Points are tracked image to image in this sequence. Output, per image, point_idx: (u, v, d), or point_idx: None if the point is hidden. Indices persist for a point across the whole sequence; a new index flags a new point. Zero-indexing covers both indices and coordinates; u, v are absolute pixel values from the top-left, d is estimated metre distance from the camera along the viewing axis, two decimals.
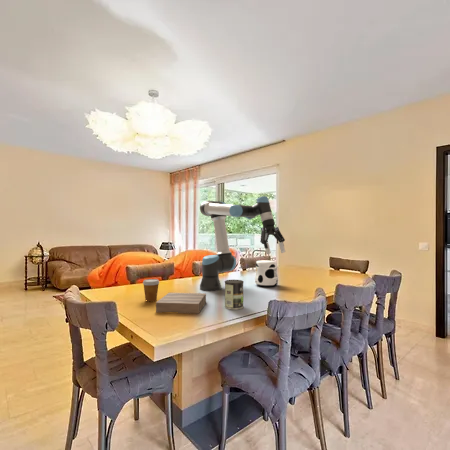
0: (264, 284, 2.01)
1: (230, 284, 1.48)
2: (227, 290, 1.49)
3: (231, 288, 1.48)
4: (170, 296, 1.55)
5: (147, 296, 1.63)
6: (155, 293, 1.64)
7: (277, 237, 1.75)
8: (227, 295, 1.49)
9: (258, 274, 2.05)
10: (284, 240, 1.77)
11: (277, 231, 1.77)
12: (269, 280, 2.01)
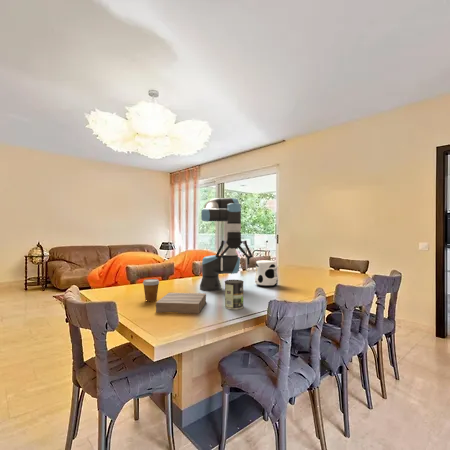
0: (264, 284, 2.01)
1: (230, 284, 1.48)
2: (227, 290, 1.49)
3: (231, 288, 1.48)
4: (170, 296, 1.55)
5: (147, 296, 1.63)
6: (155, 293, 1.64)
7: (242, 252, 1.52)
8: (227, 295, 1.49)
9: (258, 274, 2.05)
10: (251, 257, 1.50)
11: (245, 245, 1.52)
12: (269, 280, 2.01)
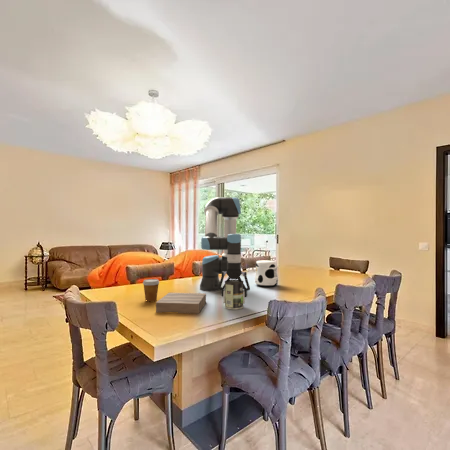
0: (264, 284, 2.01)
1: (230, 284, 1.48)
2: (227, 290, 1.49)
3: (231, 288, 1.48)
4: (170, 296, 1.55)
5: (147, 296, 1.63)
6: (155, 293, 1.64)
7: None
8: (227, 295, 1.49)
9: (258, 274, 2.05)
10: None
11: (244, 277, 1.52)
12: (269, 280, 2.01)
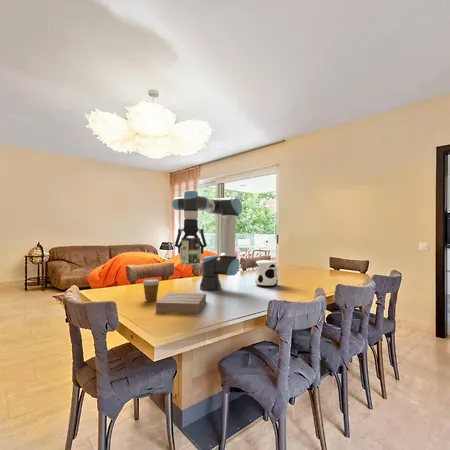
0: (264, 284, 2.01)
1: (186, 240, 1.48)
2: (183, 246, 1.49)
3: (186, 244, 1.48)
4: (170, 296, 1.55)
5: (147, 296, 1.63)
6: (155, 293, 1.64)
7: None
8: (183, 251, 1.49)
9: (258, 274, 2.05)
10: (204, 246, 1.51)
11: None
12: (269, 280, 2.01)
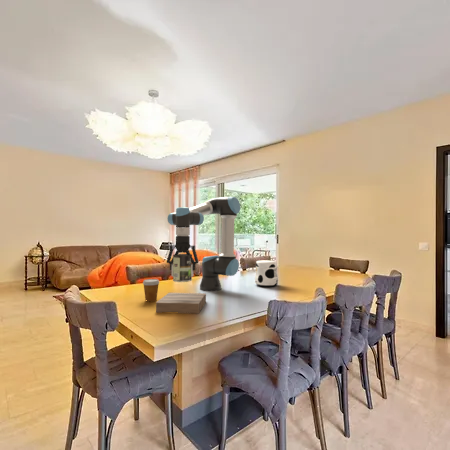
0: (264, 284, 2.01)
1: (177, 257, 1.48)
2: (174, 263, 1.49)
3: (178, 261, 1.48)
4: (170, 296, 1.55)
5: (147, 296, 1.63)
6: (155, 293, 1.64)
7: None
8: (174, 268, 1.49)
9: (258, 274, 2.05)
10: (196, 263, 1.51)
11: None
12: (269, 280, 2.01)
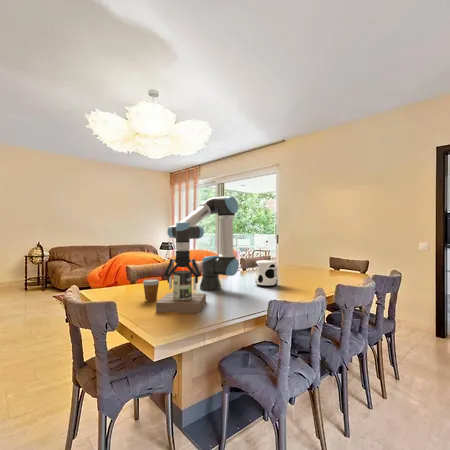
0: (264, 284, 2.01)
1: (177, 274, 1.48)
2: (174, 280, 1.49)
3: (178, 278, 1.48)
4: (170, 296, 1.55)
5: (147, 296, 1.63)
6: (155, 293, 1.64)
7: None
8: (174, 285, 1.49)
9: (258, 274, 2.05)
10: None
11: (193, 264, 1.52)
12: (269, 280, 2.01)
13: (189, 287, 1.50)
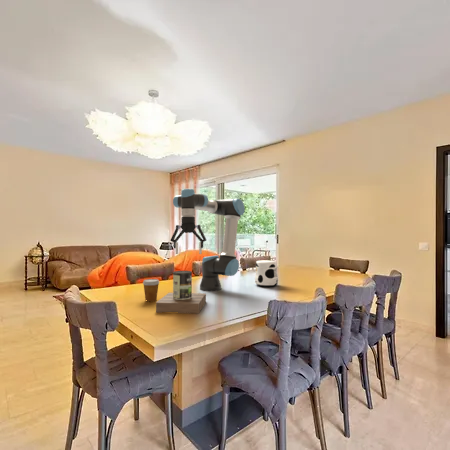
0: (264, 284, 2.01)
1: (177, 274, 1.48)
2: (174, 281, 1.49)
3: (178, 278, 1.48)
4: (170, 296, 1.55)
5: (147, 296, 1.63)
6: (155, 293, 1.64)
7: (196, 236, 1.57)
8: (174, 286, 1.49)
9: (258, 274, 2.05)
10: (204, 240, 1.56)
11: (198, 229, 1.57)
12: (269, 280, 2.01)
13: (189, 287, 1.50)
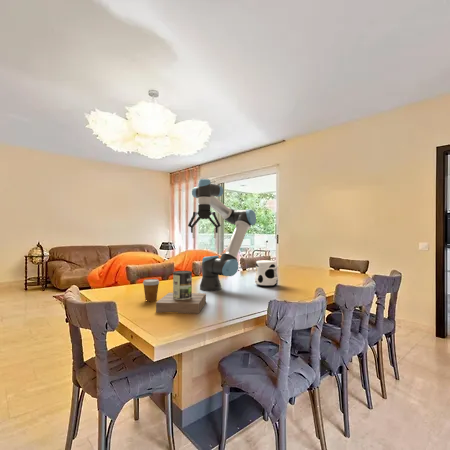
0: (264, 284, 2.01)
1: (177, 274, 1.48)
2: (174, 280, 1.49)
3: (178, 278, 1.48)
4: (170, 296, 1.55)
5: (147, 296, 1.63)
6: (155, 293, 1.64)
7: None
8: (174, 285, 1.49)
9: (258, 274, 2.05)
10: (219, 226, 1.72)
11: None
12: (269, 280, 2.01)
13: (189, 287, 1.50)
